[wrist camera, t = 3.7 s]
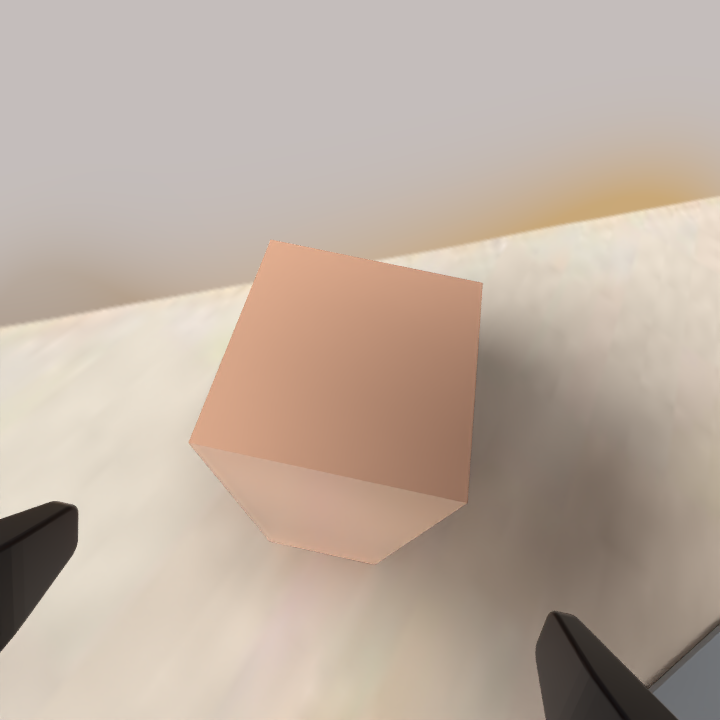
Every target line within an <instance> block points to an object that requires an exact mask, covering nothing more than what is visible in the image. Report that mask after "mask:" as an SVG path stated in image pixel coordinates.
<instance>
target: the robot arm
mask: <svg viewBox="0 0 720 720" xmlns="http://www.w3.org/2000/svg"><path fill="white" fill-rule="evenodd" d="M77 543H78V509H77V507H76V506H75V505H73V504H68V503H63V502H59V501H52V502H49V503H46V504H43V505H40V506H37V507H34V508H31V509H28V510H26V511H23V512H20V513H17V514H14V515H11V516H8V517H5V518H2V519H0V652H1V651H2V650H3V649H4V647H5V646H6V645H7V644H8V642H9V641H10V640H11V639H12V638H13V636H14V635H15V634H16V633H17V631H18V630H19V629H20V627H21V626H22V625H23V623H24V622H25V621H26V619H27V618H28V616H29V615H30V614H31V612H32V611H33V610H34V608H35V607H36V605H37V604H38V603H39V601H40V600H41V598H42V597H43V596H44V594H45V593H46V591H47V590H48V589H49V587H50V586H51V584H52V583H53V582H54V580H55V579H56V577H57V576H58V575H59V573H60V572H61V570H62V569H63V568H64V566H65V565H66V564H67V562H68V561H69V559H70V558H71V557H72V555H73V553H74V551H75V549H76V547H77ZM535 654H536V663H537V669H538V675H539V681H540V687H541V693H542V699H543V705H544V711H545V718H546V720H679V719H678V718H677V717H676V716H675V715H674V714H673V713H672V712H671V711H670V710H669V709H668V708H667V707H666V706H665V705H664V704H663V703H662V702H661V701H660V700H659V699H658V698H657V697H656V696H655V695H654V694H653V693H652V692H651V691H650V690H649V689H648V688H647V687H646V686H645V685H644V684H643V683H642V682H641V681H640V680H639V679H638V678H637V677H636V676H635V675H634V674H633V673H632V672H631V671H630V670H629V669H628V668H627V667H626V666H625V665H624V664H623V663H622V662H621V661H620V660H619V659H618V658H617V657H616V656H615V655H614V654H613V653H612V652H611V651H610V650H609V649H608V648H607V647H606V646H605V645H604V644H603V643H602V642H601V641H600V640H599V639H598V638H597V637H596V636H595V635H594V634H593V633H592V632H591V631H590V630H589V629H588V628H587V627H586V626H585V625H584V624H583V623H582V622H581V621H580V620H579V619H578V618H577V617H575V616H574V615H571V614H567V613H562V612H558V611H552V612H550V613H549V615H548V616H547V619H546V621H545V624H544V626H543V629H542V631H541V634H540V636H539V639H538V641H537V644H536V652H535Z"/></svg>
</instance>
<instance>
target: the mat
mask: <svg viewBox="0 0 720 720" xmlns="http://www.w3.org/2000/svg"><path fill="white" fill-rule="evenodd" d="M649 690H650V691H651V692H652V693H653V694H654V695H655V696H656V697H657V698H658V699H659V700H660V701H661V702H662V703H663V704H664V705H665V706H666V707H667V708H668V709H669V710H670V711H671V712H672V713H673V714H674V715H675V716H676V717H677V718H678V719H679V720H720V624H719V625H718V626H717V627H716V628H715V629H714V630H713V631H711V632H710V633H709V634H708V635H707V636H706V637H705V638H704V639H703V640H702V641H700V642H699V643H698V644H697V645H696V646H695V647H694V648H693V649H692V650H691V651H689V652H688V653H687V654H686V655H685V656H684V657H683V658H682V659H681V660H680V661H678V662H677V663H676V664H675V665H674V666H673V667H672V668H671V669H670V670H669V671H667V672H666V673H665V674H664V675H663V676H662V677H661V678H660V679H659V680H658V681H656V682H655V683H654V684H653V685H652V686H651V687H650V688H649Z"/></svg>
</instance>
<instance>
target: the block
mask: <svg viewBox="0 0 720 720" xmlns="http://www.w3.org/2000/svg"><path fill="white" fill-rule="evenodd" d="M482 285H483V283H480V282H475V281H470V280H465V279H460V278H456V277H451V276H446V275H441V274H436V273H431V272H426V271H421V270H416V269H412V268H407V267H402V266H397V265H392V264H387V263H382V262H377V261H372V260H368V259H362V258H358V257H353V256H348V255H343V254H338V253H333V252H328V251H323V250H319V249H314V248H309V247H304V246H299V245H294V244H289V243H284V242H279V241H274V240H270V243H269V245H268V248H267V250H266V253H265V255H264V258H263V260H262V263H261V265H260V268H259V270H258V273H257V275H256V277H255V280H254V282H253V285H252V287H251V290H250V292H249V295H248V297H247V300H246V302H245V305H244V307H243V309H242V312H241V314H240V317H239V319H238V322H237V324H236V327H235V329H234V332H233V334H232V337H231V339H230V342H229V344H228V346H227V349H226V351H225V354H224V356H223V359H222V361H221V364H220V366H219V369H218V371H217V374H216V376H215V379H214V381H213V383H212V386H211V388H210V391H209V393H208V396H207V398H206V401H205V403H204V406H203V408H202V411H201V413H200V416H199V418H198V420H197V423H196V425H195V428H194V430H193V433H192V435H191V438H190V440H189V444H190V445H191V446H192V448H193V449H194V450H195V451H196V453H197V454H198V455H199V456H200V457H201V459H202V460H203V461H204V462H205V463H206V465H207V466H208V467H209V468H210V470H211V471H212V472H213V473H214V474H215V476H216V477H217V478H218V479H219V480H220V482H221V483H222V484H223V485H224V487H225V488H226V489H227V490H228V491H229V493H230V494H231V495H232V496H233V497H234V499H235V500H236V501H237V502H238V504H239V505H240V506H241V507H242V508H243V510H244V511H245V512H246V513H247V515H248V516H249V517H250V518H251V519H252V521H253V522H254V523H255V524H256V525H257V527H258V528H259V529H260V530H261V532H262V533H263V534H264V535H265V536H266V538H267V539H268V540H269V541H270V542H274V543H278V544H283V545H287V546H292V547H297V548H301V549H306V550H310V551H315V552H319V553H324V554H328V555H333V556H337V557H342V558H346V559H351V560H355V561H360V562H364V563H369V564H374V565H376V564H377V563H379V562H380V561H382V560H383V559H385V558H386V557H388V556H389V555H391V554H392V553H394V552H395V551H397V550H398V549H400V548H401V547H403V546H404V545H406V544H407V543H409V542H410V541H412V540H413V539H415V538H416V537H418V536H419V535H421V534H422V533H424V532H425V531H427V530H428V529H430V528H431V527H433V526H434V525H436V524H437V523H439V522H440V521H442V520H443V519H445V518H446V517H448V516H449V515H450V514H452V513H453V512H455V511H456V510H458V509H459V508H461V507H462V506H464V505H465V504H467V503H468V488H469V474H470V459H471V445H472V430H473V416H474V401H475V387H476V372H477V358H478V343H479V329H480V314H481V300H482Z"/></svg>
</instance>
